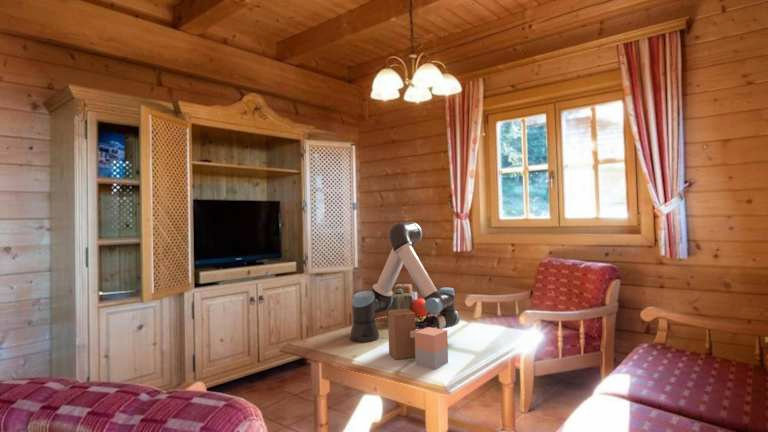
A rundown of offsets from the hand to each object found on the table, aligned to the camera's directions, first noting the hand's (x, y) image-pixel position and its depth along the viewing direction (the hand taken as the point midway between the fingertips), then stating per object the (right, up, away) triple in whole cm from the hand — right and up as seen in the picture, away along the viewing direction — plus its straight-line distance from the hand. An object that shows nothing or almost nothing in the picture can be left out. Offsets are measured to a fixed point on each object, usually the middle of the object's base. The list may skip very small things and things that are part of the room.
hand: (401, 331), depth 202 cm
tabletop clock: (+2, -10, +57) cm, 58 cm away
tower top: (+13, -4, -11) cm, 17 cm away
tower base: (+13, -11, -11) cm, 20 cm away
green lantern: (+5, -10, +73) cm, 74 cm away
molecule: (+16, -10, +57) cm, 61 cm away
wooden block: (+1, -11, +1) cm, 11 cm away
